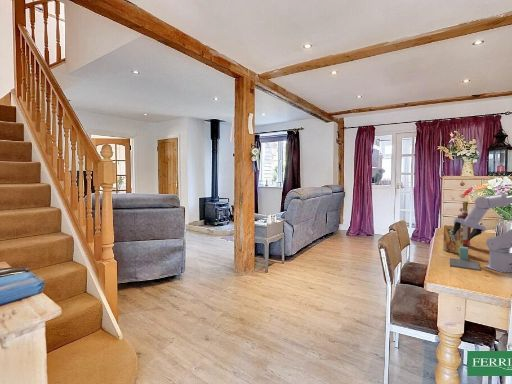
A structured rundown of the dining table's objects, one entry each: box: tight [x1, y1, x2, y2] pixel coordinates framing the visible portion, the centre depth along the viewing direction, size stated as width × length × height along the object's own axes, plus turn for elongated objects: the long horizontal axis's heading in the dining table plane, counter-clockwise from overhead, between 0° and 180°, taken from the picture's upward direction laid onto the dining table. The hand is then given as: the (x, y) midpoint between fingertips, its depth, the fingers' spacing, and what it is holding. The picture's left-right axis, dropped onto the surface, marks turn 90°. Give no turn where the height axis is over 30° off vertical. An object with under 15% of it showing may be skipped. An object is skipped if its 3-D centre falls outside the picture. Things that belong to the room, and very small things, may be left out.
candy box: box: [442, 224, 464, 255], centre depth 167 cm, size 9×4×15 cm, turn 33°
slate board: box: [449, 257, 481, 271], centre depth 144 cm, size 14×12×1 cm
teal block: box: [459, 246, 469, 260], centre depth 152 cm, size 4×4×6 cm
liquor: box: [457, 201, 472, 248], centre depth 179 cm, size 7×7×28 cm
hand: (461, 236), depth 154 cm, fingers open, 7 cm apart
